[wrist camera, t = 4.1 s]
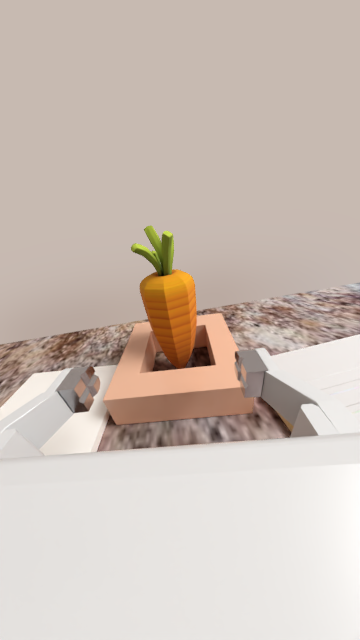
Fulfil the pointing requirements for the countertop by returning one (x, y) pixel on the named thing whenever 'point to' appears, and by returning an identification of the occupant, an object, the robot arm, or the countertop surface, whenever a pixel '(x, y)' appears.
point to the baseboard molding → (328, 370)
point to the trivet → (80, 427)
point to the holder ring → (176, 379)
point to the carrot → (169, 300)
